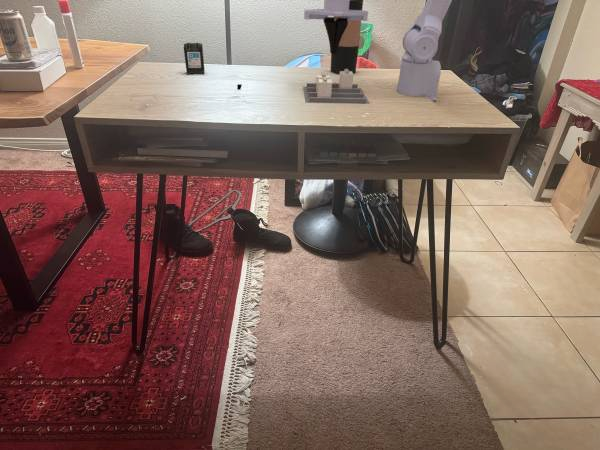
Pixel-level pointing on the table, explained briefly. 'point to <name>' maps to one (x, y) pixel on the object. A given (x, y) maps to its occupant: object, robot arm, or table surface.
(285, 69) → the table surface
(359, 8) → the travel mug
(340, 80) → the tab
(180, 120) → the table surface
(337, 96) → the switch bank
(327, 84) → the tab
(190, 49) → the ink cartridge
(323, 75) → the tab middle
